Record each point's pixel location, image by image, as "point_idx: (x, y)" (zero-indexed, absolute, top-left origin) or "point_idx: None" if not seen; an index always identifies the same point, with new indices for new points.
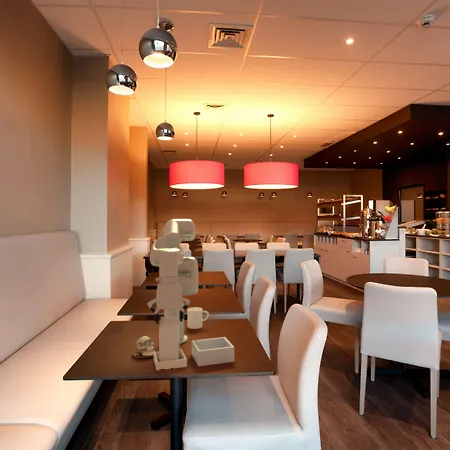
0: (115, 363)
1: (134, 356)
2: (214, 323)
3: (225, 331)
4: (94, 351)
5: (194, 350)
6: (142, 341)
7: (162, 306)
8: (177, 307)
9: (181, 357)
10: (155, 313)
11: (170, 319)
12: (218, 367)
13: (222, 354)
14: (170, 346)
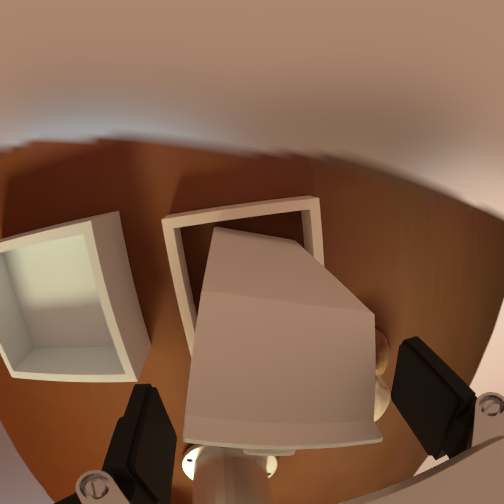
0: (439, 294)
1: (383, 345)
2: None
3: (75, 473)
4: (464, 381)
5: (122, 305)
6: (378, 388)
7: (498, 481)
8: None
9: (192, 304)
10: (485, 402)
11: (274, 422)
12: (47, 189)
13: (12, 237)
14: (252, 253)
